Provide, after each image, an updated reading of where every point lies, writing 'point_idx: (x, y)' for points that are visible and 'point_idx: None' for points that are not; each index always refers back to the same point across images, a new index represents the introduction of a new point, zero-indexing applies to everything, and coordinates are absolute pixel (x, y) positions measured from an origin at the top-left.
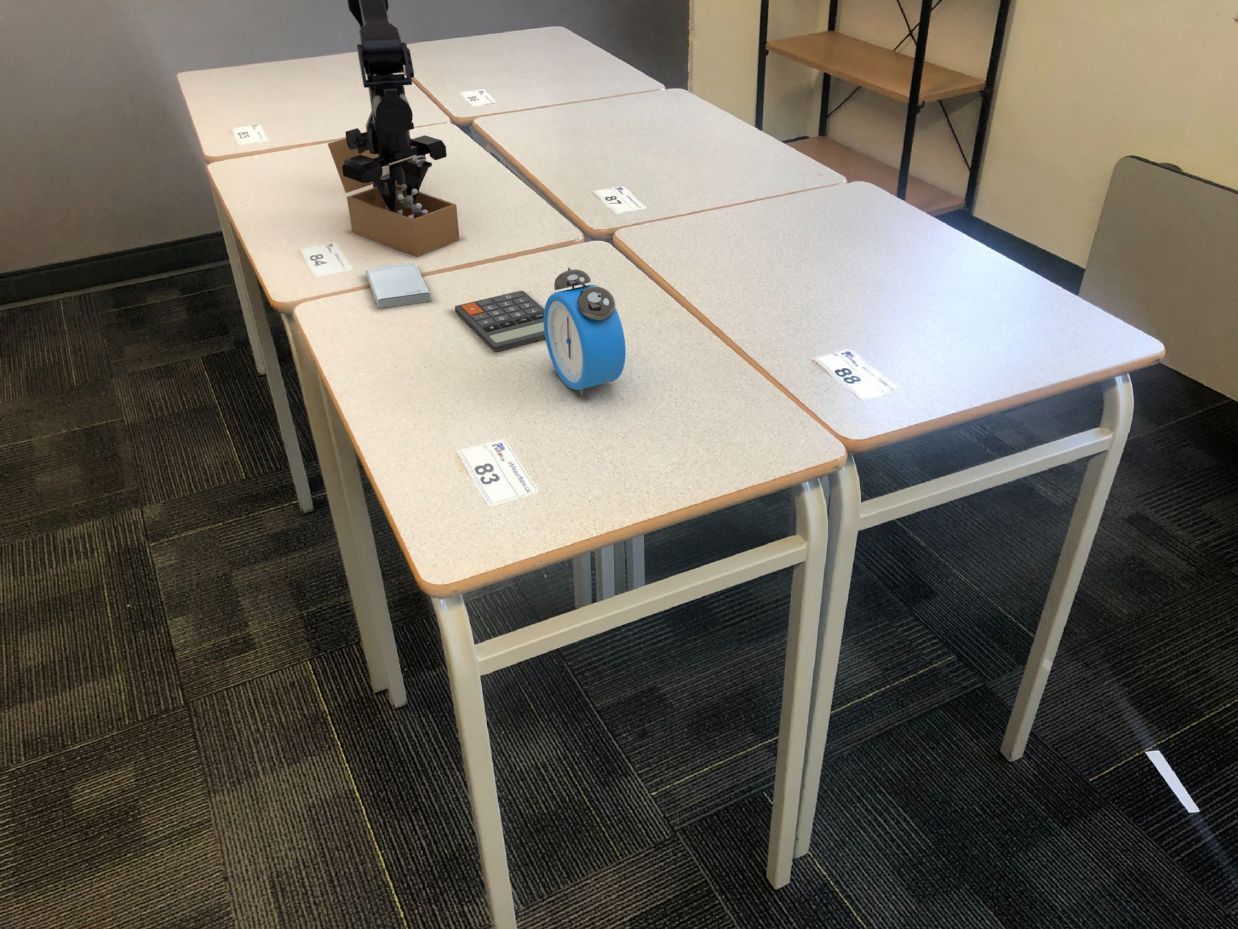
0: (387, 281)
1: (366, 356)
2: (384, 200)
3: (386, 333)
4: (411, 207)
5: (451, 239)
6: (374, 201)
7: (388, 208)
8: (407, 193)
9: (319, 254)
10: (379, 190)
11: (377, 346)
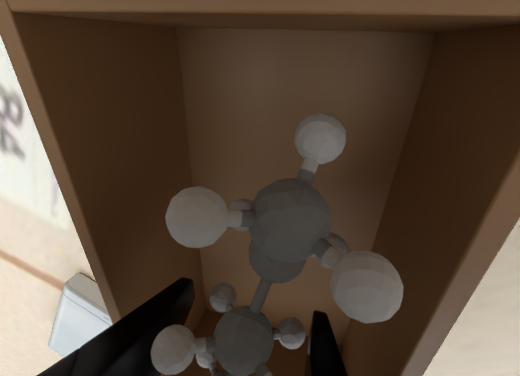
0: (77, 336)
1: (21, 357)
2: (134, 312)
3: (50, 357)
4: (276, 333)
5: None
6: (287, 22)
7: (177, 281)
8: (308, 360)
9: (15, 94)
10: (60, 367)
11: (35, 358)
